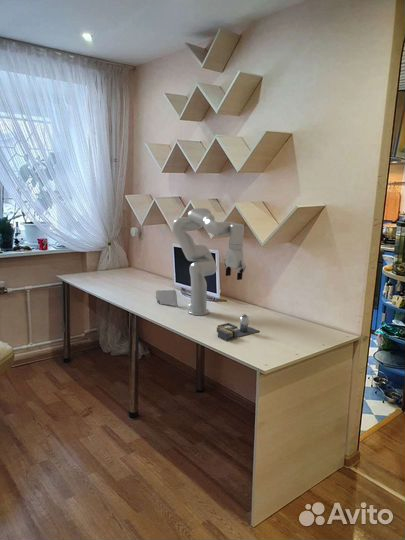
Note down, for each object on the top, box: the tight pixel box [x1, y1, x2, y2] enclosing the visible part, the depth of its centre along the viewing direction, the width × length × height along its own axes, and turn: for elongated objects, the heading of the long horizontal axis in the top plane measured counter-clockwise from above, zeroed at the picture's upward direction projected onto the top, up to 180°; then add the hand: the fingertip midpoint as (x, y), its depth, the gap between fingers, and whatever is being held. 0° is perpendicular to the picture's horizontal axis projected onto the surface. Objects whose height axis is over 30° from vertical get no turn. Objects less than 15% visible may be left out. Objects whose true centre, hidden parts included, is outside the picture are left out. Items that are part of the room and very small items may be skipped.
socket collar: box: [217, 322, 238, 330], centre depth 222 cm, size 8×8×1 cm
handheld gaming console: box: [155, 288, 179, 308], centre depth 264 cm, size 11×3×15 cm
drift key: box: [216, 326, 233, 337], centre depth 208 cm, size 10×3×3 cm, turn 37°
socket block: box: [217, 326, 238, 342], centre depth 206 cm, size 7×7×4 cm
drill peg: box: [239, 313, 249, 333], centre depth 214 cm, size 4×4×9 cm
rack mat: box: [235, 326, 260, 338], centre depth 215 cm, size 8×15×1 cm, turn 127°
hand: (233, 277), depth 224 cm, fingers open, 9 cm apart
